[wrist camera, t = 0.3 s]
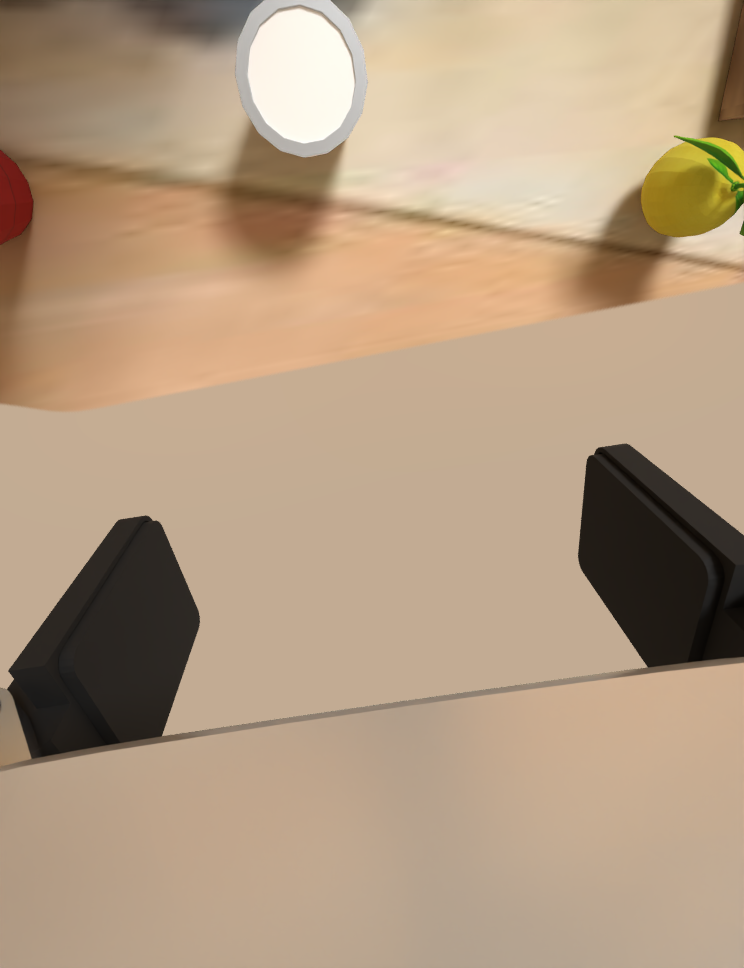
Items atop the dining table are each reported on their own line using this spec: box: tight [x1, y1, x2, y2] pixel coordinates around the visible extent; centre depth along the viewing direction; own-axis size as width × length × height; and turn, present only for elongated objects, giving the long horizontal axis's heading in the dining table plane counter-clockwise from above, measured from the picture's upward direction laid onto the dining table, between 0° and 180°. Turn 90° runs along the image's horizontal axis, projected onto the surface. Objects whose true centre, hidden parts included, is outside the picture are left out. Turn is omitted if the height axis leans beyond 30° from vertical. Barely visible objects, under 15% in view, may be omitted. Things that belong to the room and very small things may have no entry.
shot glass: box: [235, 0, 368, 158], centre depth 28 cm, size 7×7×7 cm
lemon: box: [641, 136, 744, 237], centre depth 30 cm, size 7×6×10 cm
